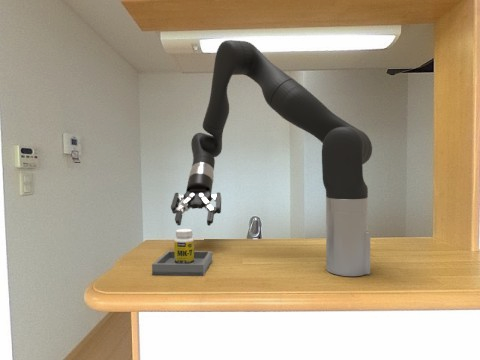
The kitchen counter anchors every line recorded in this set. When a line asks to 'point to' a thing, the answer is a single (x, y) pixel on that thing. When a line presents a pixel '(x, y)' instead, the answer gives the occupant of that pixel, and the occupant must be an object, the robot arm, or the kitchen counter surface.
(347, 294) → the kitchen counter surface
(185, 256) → the supplement bottle
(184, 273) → the tray
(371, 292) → the kitchen counter surface
